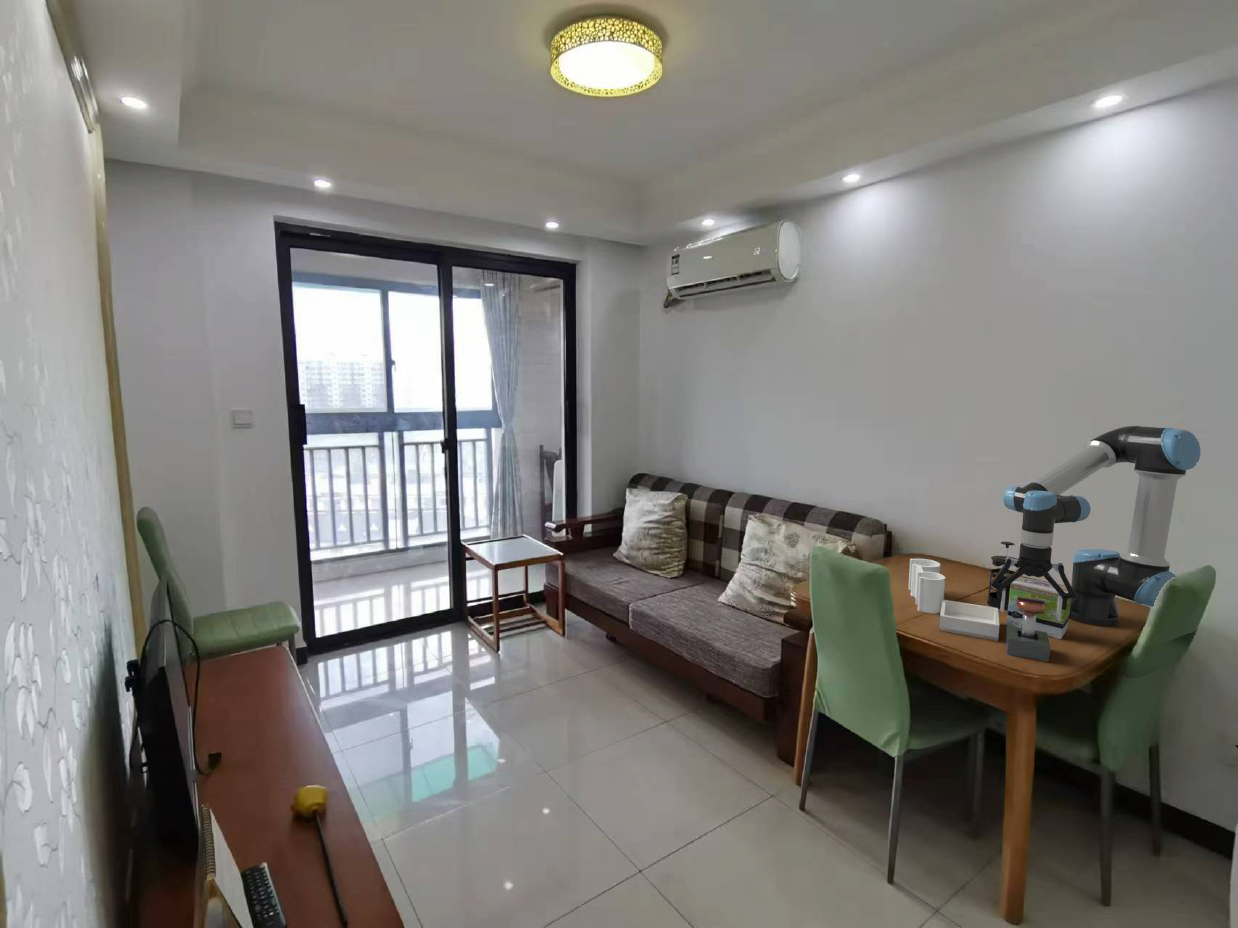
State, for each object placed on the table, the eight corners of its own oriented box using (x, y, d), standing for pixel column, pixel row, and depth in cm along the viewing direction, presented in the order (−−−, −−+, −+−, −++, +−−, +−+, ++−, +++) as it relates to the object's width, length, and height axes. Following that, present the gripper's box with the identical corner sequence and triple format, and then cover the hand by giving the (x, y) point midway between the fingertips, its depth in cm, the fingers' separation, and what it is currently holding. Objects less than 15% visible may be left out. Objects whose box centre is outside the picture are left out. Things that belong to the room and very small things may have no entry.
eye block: (1045, 648, 178) (1046, 632, 178) (1048, 662, 170) (1050, 645, 169) (1005, 641, 183) (1006, 625, 183) (1006, 654, 175) (1008, 638, 174)
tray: (996, 622, 197) (997, 608, 196) (998, 641, 184) (999, 625, 183) (941, 613, 205) (942, 599, 205) (939, 630, 192) (940, 615, 191)
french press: (1022, 612, 205) (1028, 547, 202) (991, 609, 208) (996, 545, 205) (1012, 600, 216) (1017, 538, 213) (982, 597, 219) (987, 536, 216)
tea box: (1005, 626, 194) (1009, 582, 192) (1013, 617, 201) (1017, 575, 199) (1062, 640, 184) (1066, 594, 182) (1068, 630, 191) (1073, 586, 189)
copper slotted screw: (1039, 649, 178) (1044, 597, 176) (1041, 658, 172) (1046, 605, 170) (1011, 644, 181) (1016, 593, 179) (1012, 653, 175) (1017, 600, 173)
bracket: (947, 615, 204) (949, 581, 202) (915, 611, 207) (917, 578, 206) (936, 590, 227) (938, 559, 226) (907, 587, 231) (909, 557, 229)
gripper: (1088, 547, 169) (1081, 618, 172) (985, 536, 182) (980, 603, 185) (1092, 554, 162) (1084, 628, 166) (985, 542, 175) (980, 611, 178)
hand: (1029, 615), depth 175 cm, fingers open, 13 cm apart
